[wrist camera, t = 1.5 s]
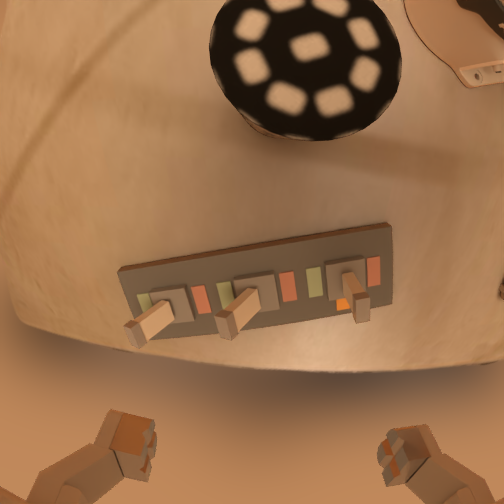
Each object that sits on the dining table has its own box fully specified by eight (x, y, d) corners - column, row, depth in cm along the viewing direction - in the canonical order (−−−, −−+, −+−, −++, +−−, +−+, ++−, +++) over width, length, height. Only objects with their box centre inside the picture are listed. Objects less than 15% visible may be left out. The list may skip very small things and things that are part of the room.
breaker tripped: (353, 270, 33) (370, 297, 27) (354, 292, 33) (370, 320, 28) (341, 273, 33) (355, 300, 27) (342, 294, 34) (356, 323, 28)
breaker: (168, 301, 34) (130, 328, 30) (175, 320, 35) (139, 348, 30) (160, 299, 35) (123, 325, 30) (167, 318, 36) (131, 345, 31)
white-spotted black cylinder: (258, 150, 31) (255, 170, 13) (226, 79, 29) (180, 5, 10) (331, 122, 30) (427, 111, 11) (301, 52, 27) (352, -42, 9)
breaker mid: (257, 288, 33) (225, 318, 29) (262, 309, 34) (231, 340, 30) (246, 287, 34) (214, 316, 29) (251, 307, 35) (220, 337, 30)
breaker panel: (387, 222, 34) (395, 229, 31) (388, 298, 37) (394, 308, 35) (121, 267, 37) (113, 275, 34) (146, 334, 40) (141, 345, 38)
